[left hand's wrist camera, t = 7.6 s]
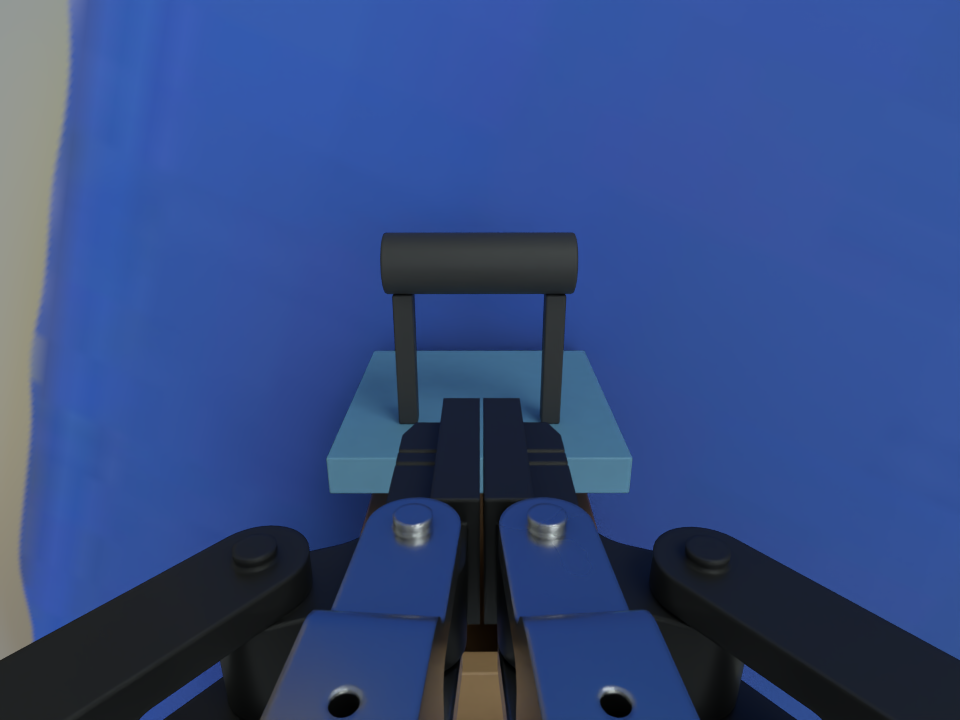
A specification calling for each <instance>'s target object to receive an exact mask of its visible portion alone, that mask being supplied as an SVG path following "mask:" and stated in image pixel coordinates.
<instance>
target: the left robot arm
mask: <svg viewBox="0 0 960 720" xmlns="http://www.w3.org/2000/svg"><path fill="white" fill-rule="evenodd" d="M483 549H484V624H497V636H498V655H497V671H498V679H499V687H500V695H501V703H502V711H503V720H797V719H795V718H794V717H792V716H791V715H790V714H788V713H787V712H785V711H784V710H783V709H781V708H780V707H778V706H777V705H776V704H774V703H773V702H771V701H770V700H769V699H767V698H766V697H764V696H763V695H762V694H760V693H759V692H758V691H756V690H755V689H753V688H752V687H751V686H749V685H748V684H746V683H745V682H744V681H742V680H741V677H742V672H743V667H744V664H745V665H747V666H748V667H750V668H751V669H753V670H754V671H756V672H757V673H758V674H760V675H761V676H763V677H764V678H766V679H767V680H768V681H770V682H771V683H773V684H774V685H776V686H777V687H779V688H780V689H781V690H783V691H784V692H786V693H787V694H789V695H790V696H792V697H793V698H794V699H796V700H797V701H799V702H800V703H802V704H803V705H805V706H806V707H807V708H809V709H810V710H812V711H813V712H814V713H816V714H817V715H818V716H819V717H820V718H821V719H822V720H960V660H958V659H956V658H955V657H953V656H951V655H949V654H947V653H945V652H944V651H942V650H940V649H938V648H936V647H934V646H932V645H931V644H929V643H927V642H925V641H923V640H921V639H920V638H918V637H916V636H914V635H912V634H910V633H908V632H907V631H905V630H903V629H901V628H899V627H897V626H896V625H894V624H892V623H890V622H888V621H886V620H884V619H883V618H881V617H879V616H877V615H875V614H873V613H872V612H870V611H868V610H866V609H864V608H862V607H860V606H859V605H857V604H855V603H853V602H851V601H849V600H848V599H846V598H844V597H842V596H840V595H838V594H836V593H835V592H833V591H831V590H829V589H827V588H825V587H824V586H822V585H820V584H818V583H816V582H814V581H812V580H811V579H809V578H807V577H805V576H803V575H801V574H800V573H798V572H796V571H794V570H792V569H790V568H789V567H787V566H785V565H783V564H781V563H779V562H777V561H776V560H774V559H772V558H770V557H768V556H766V555H765V554H763V553H761V552H759V551H757V550H755V549H753V548H752V547H750V546H748V545H746V544H744V543H742V542H741V541H739V540H737V539H735V538H733V537H731V536H729V535H727V534H724V533H721V532H718V531H715V530H711V529H706V528H700V527H682V528H676V529H672V530H669V531H667V532H665V533H663V534H662V535H661V536H659V537H658V539H657V540H656V541H655V544H654V547H653V551H652V550H647V549H643V548H638V547H634V546H629V545H625V544H621V543H618V542H615V541H613V540H610V539H608V538H606V537H604V536H602V535H601V534H599V533H598V532H597V529H596V527H595V524H594V522H593V520H592V518H591V517H590V516H589V514H588V513H587V512H586V511H584V510H583V509H582V508H580V507H579V504H578V500H577V496H576V492H575V488H574V484H573V480H572V477H571V473H570V469H569V465H568V461H567V457H566V453H565V449H564V445H563V441H562V437H561V435H560V434H559V433H558V432H557V431H556V430H555V429H554V428H553V427H552V426H551V425H549V424H548V423H547V422H523V417H522V410H521V403H520V398H483ZM467 624H480V398H443V405H442V413H441V420H440V422H416V423H415V424H414V425H413V426H412V427H411V428H410V429H408V430H407V431H406V432H405V433H404V434H403V435H402V439H401V443H400V447H399V453H398V455H397V459H396V466H395V467H394V472H393V476H392V480H391V484H390V488H389V492H388V496H387V500H386V504H385V505H383V506H382V507H380V508H378V509H377V510H376V511H374V512H373V513H372V514H371V516H370V517H369V518H368V520H367V522H366V524H365V527H364V529H363V532H362V534H361V537H359V538H357V539H355V540H352V541H350V542H347V543H344V544H340V545H336V546H332V547H327V548H323V549H318V550H313V551H309V544H308V542H307V540H306V538H305V537H304V536H303V535H302V534H301V533H299V532H298V531H296V530H294V529H291V528H288V527H282V526H260V527H255V528H250V529H247V530H243V531H240V532H238V533H235V534H233V535H231V536H229V537H227V538H225V539H223V540H221V541H219V542H218V543H216V544H214V545H212V546H210V547H208V548H207V549H205V550H203V551H201V552H199V553H197V554H196V555H194V556H192V557H190V558H188V559H186V560H184V561H183V562H181V563H179V564H177V565H175V566H173V567H172V568H170V569H168V570H166V571H164V572H162V573H160V574H159V575H157V576H155V577H153V578H151V579H149V580H148V581H146V582H144V583H142V584H140V585H138V586H136V587H135V588H133V589H131V590H129V591H127V592H125V593H124V594H122V595H120V596H118V597H116V598H114V599H112V600H111V601H109V602H107V603H105V604H103V605H101V606H100V607H98V608H96V609H94V610H92V611H90V612H88V613H87V614H85V615H83V616H81V617H79V618H77V619H76V620H74V621H72V622H70V623H68V624H66V625H64V626H63V627H61V628H59V629H57V630H55V631H53V632H52V633H50V634H48V635H46V636H44V637H42V638H41V639H39V640H37V641H35V642H33V643H31V644H29V645H28V646H26V647H24V648H22V649H20V650H18V651H17V652H15V653H13V654H11V655H9V656H7V657H5V658H4V659H2V660H0V720H139V719H140V718H141V717H142V716H143V715H144V714H145V713H146V712H147V711H149V710H150V709H151V708H153V707H154V706H156V705H157V704H158V703H160V702H161V701H163V700H164V699H166V698H167V697H168V696H170V695H171V694H173V693H174V692H176V691H177V690H179V689H180V688H181V687H183V686H184V685H186V684H187V683H189V682H190V681H192V680H193V679H194V678H196V677H197V676H199V675H200V674H202V673H203V672H204V671H206V670H207V669H209V668H210V667H212V666H213V665H215V664H216V663H217V662H219V661H220V663H221V668H222V673H223V677H222V678H221V679H219V680H218V681H216V682H215V683H214V684H212V685H211V686H209V687H208V688H207V689H205V690H204V691H202V692H201V693H200V694H198V695H197V696H196V697H194V698H193V699H191V700H190V701H189V702H187V703H186V704H184V705H183V706H182V707H180V708H179V709H177V710H176V711H175V712H173V713H172V714H170V715H169V716H168V717H166V718H165V719H163V720H457V711H458V703H459V695H460V687H461V679H462V671H463V653H464V650H465V648H466V642H467Z"/></svg>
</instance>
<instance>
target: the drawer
mask: <svg viewBox="0 0 960 720" xmlns="http://www.w3.org/2000/svg"><path fill="white" fill-rule="evenodd" d="M380 266H381V279H382V285H383V289H384V292H385V293H387V294H393V296H392V301H393V320H394V339H395V351H374V353H373V355H372V357H371V360H370V362H369V364H368V366H367V369H366V371H365V373H364V375H363V378H362V380H361V382H360V384H359V387H358V389H357V391H356V393H355V396H354V398H353V400H352V402H351V404H350V407H349V409H348V411H347V413H346V416H345V418H344V420H343V422H342V425H341V427H340V429H339V431H338V434H337V436H336V438H335V440H334V443H333V445H332V447H331V449H330V452H329V454H328V456H327V458H326V460H327V470H328V480H329V490H330V493H372V495H371V499H370V502H369V506H368V510H367V513H366V517H365V520H364V524H363V527H362V532H363V529H364V527H365V524H366V522H367V520H368V518H369V517H370V516H371V514H372V513H373V512H374V511H376V510H377V509H378V508H380V507H382V506H383V505H385V504H386V500H387V496H388V492H389V488H390V484H391V480H392V476H393V472H394V467H395V466H396V459H397V455H398V453H399V447H400V443H401V439H402V435H403V434H404V433H405V432H406V431H407V430H408V429H410V428H411V427H412V426H413V425H414V424H415V423H416V422H440V420H441V413H442V405H443V398H480V624H467V642H466V648H465V650H464V652H498V636H497V624H484V549H483V398H520V403H521V410H522V417H523V422H547V423H548V424H549V425H551V426H552V427H553V428H554V429H555V430H556V431H557V432H558V433H559V434H560V435H561V437H562V441H563V445H564V449H565V453H566V457H567V461H568V465H569V469H570V473H571V477H572V480H573V484H574V488H575V492H576V496H577V500H578V504H579V507H580V508H582V509H583V510H584V511H586V512H587V513H588V514H589V516H590V517H591V518H592V520H593V522H594V524H595V527H596V523H595V520H594V516H593V513H592V509H591V506H590V502H589V499H588V495H587V493H629V487H630V478H631V468H632V456H631V454H630V452H629V450H628V447H627V445H626V443H625V441H624V438H623V436H622V434H621V432H620V430H619V427H618V425H617V423H616V421H615V418H614V416H613V414H612V412H611V409H610V407H609V405H608V403H607V400H606V398H605V396H604V394H603V391H602V389H601V387H600V385H599V383H598V380H597V378H596V376H595V374H594V371H593V369H592V367H591V365H590V362H589V360H588V358H587V356H586V353H585V351H563V350H564V330H565V311H566V295H565V294H572V293H573V292H574V290H575V287H576V282H577V274H578V246H577V239H576V236H575V234H574V233H384V234H383V237H382V241H381V253H380ZM414 294H544V312H543V338H542V351H417V347H416V322H415V297H414ZM596 529H597V527H596Z"/></svg>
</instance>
